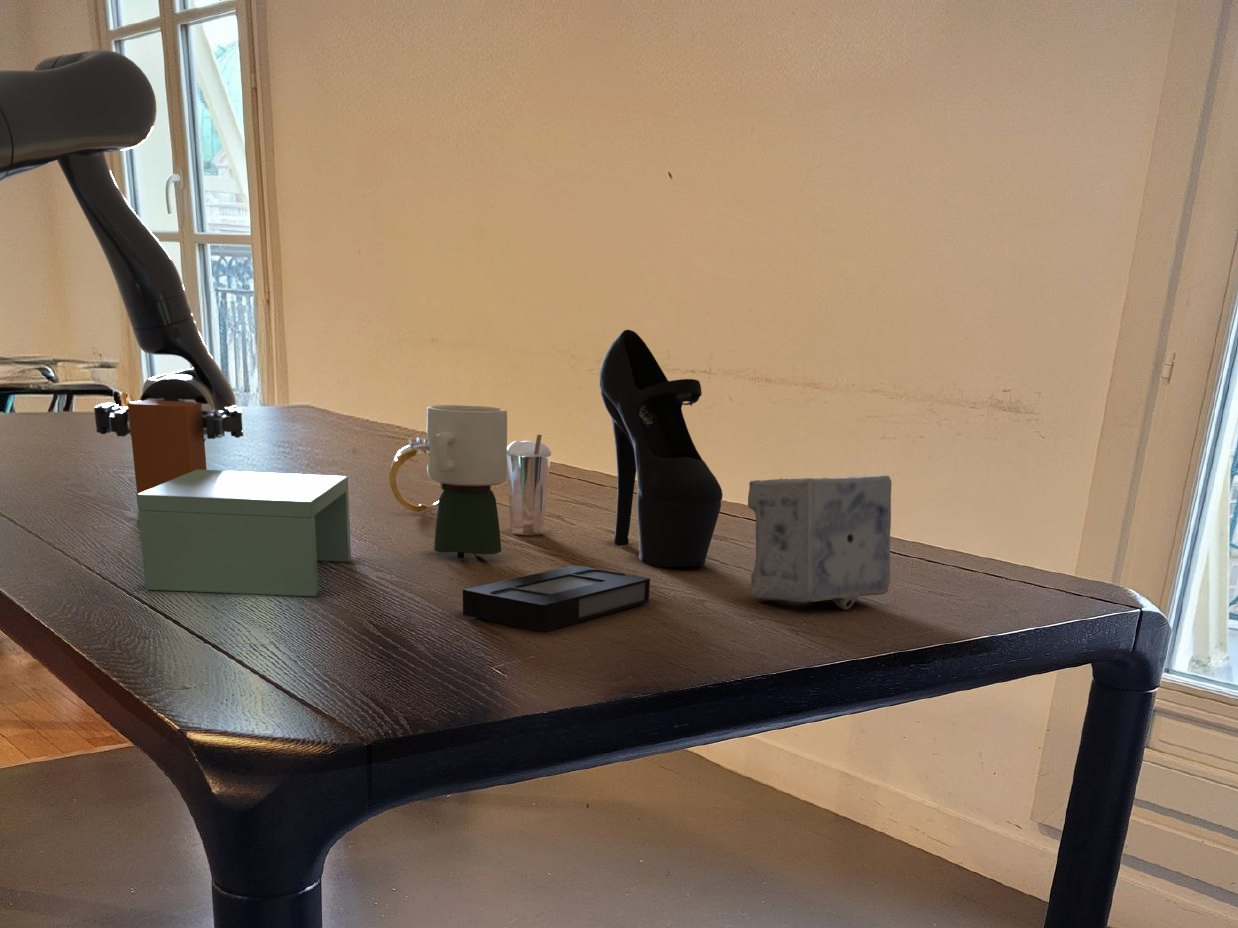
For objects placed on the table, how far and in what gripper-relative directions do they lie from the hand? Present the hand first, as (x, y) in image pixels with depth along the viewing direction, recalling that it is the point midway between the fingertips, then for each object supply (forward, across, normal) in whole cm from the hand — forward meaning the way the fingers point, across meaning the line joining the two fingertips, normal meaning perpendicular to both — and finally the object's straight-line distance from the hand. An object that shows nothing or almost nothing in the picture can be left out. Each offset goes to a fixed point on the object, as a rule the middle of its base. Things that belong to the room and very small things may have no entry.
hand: (165, 426), depth 125 cm
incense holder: (+39, +54, +9) cm, 67 cm away
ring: (-6, +25, +9) cm, 28 cm away
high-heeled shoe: (+19, +46, +9) cm, 50 cm away
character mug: (+19, +27, +9) cm, 35 cm away
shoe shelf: (+28, +9, +9) cm, 30 cm away
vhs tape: (+42, +32, +9) cm, 53 cm away
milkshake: (+7, +35, +9) cm, 37 cm away
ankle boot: (-1, +3, +9) cm, 10 cm away
